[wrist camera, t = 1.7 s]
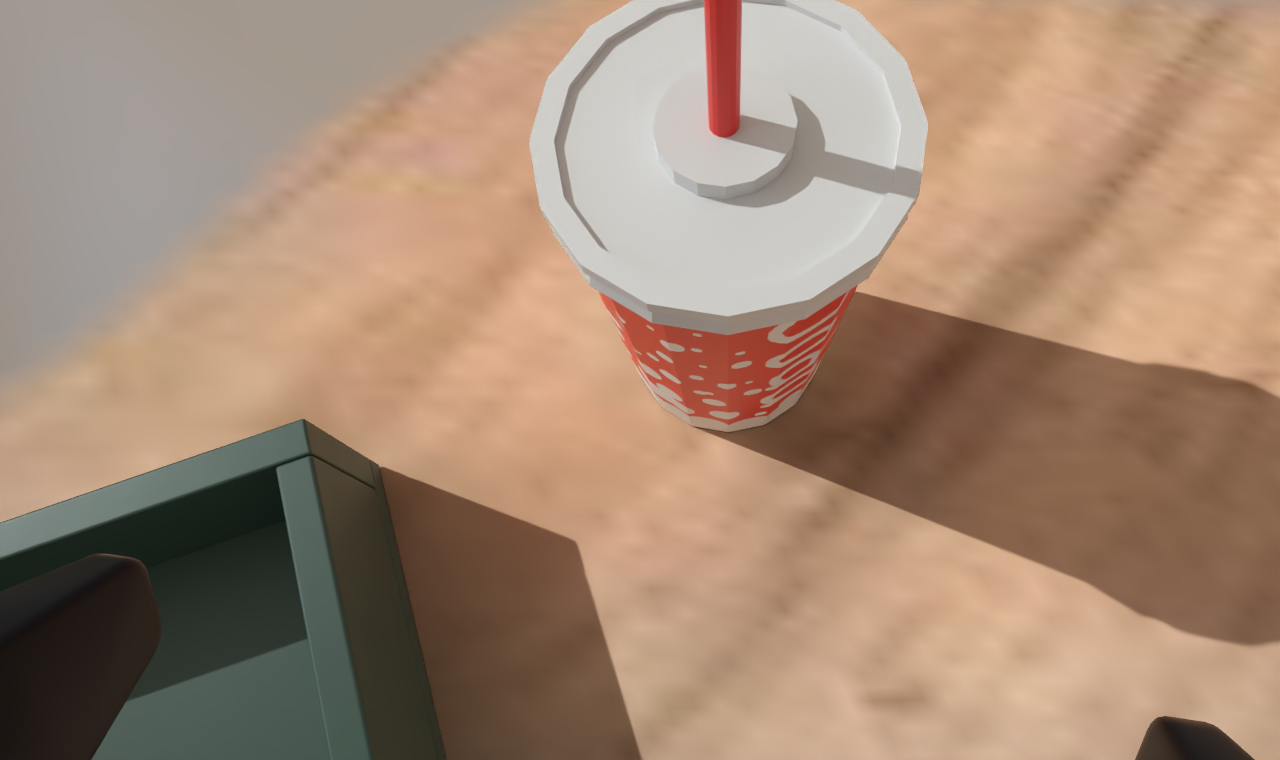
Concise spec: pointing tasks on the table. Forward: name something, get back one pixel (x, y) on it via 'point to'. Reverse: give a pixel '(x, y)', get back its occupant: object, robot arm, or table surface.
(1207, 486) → the table surface
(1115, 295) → the table surface
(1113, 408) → the table surface
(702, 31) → the beverage cup
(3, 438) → the table surface
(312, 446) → the green square tray
